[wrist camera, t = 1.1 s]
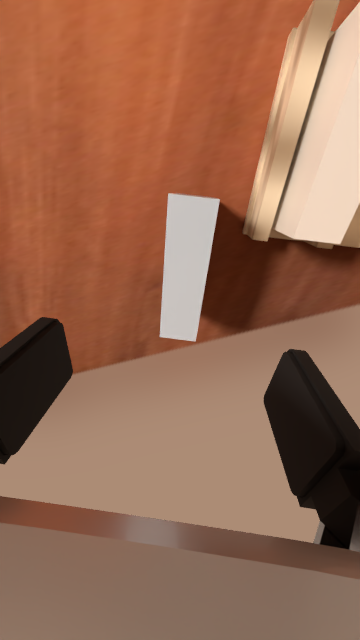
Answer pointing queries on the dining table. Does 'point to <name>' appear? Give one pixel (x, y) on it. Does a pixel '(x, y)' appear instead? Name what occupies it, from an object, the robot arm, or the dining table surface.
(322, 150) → the cream foam brick
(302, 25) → the rack
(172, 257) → the white rectangular block
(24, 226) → the dining table surface
